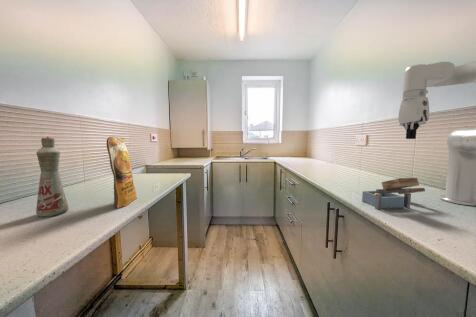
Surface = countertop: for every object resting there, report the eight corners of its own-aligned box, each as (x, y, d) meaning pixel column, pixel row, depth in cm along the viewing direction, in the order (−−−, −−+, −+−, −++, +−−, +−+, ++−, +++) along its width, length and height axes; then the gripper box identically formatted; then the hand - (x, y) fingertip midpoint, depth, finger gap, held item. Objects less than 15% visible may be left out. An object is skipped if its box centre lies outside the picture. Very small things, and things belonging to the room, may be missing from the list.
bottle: (75, 210, 77) (69, 136, 74) (46, 219, 68) (39, 136, 66) (59, 208, 79) (53, 136, 77) (30, 216, 71) (22, 136, 68)
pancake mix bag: (103, 210, 77) (98, 136, 74) (126, 196, 96) (123, 137, 93) (122, 209, 77) (117, 136, 75) (141, 196, 96) (138, 137, 94)
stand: (409, 208, 79) (411, 193, 78) (378, 209, 77) (379, 194, 76) (406, 206, 80) (407, 192, 80) (374, 208, 79) (375, 193, 78)
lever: (448, 188, 72) (444, 177, 74) (394, 190, 70) (391, 178, 71) (404, 194, 89) (402, 184, 90) (359, 196, 86) (357, 186, 88)
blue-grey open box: (403, 208, 79) (404, 196, 79) (381, 209, 78) (381, 197, 77) (382, 200, 89) (382, 190, 88) (362, 201, 88) (362, 191, 87)
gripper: (441, 92, 80) (437, 138, 81) (405, 99, 94) (402, 139, 96) (424, 91, 79) (420, 138, 80) (390, 99, 93) (388, 139, 95)
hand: (410, 138), depth 88 cm, fingers closed
